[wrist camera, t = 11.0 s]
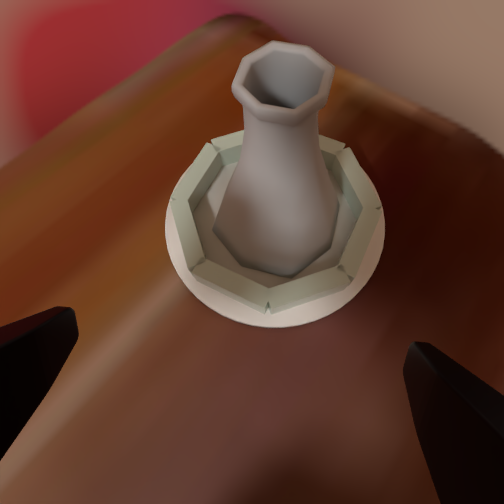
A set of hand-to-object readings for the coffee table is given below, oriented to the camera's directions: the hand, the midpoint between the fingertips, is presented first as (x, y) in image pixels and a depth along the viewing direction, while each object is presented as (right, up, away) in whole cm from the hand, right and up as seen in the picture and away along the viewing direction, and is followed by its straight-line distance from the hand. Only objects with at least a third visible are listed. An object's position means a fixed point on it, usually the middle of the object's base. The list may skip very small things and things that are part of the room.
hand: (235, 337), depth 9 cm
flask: (+2, +4, +11) cm, 12 cm away
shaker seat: (+2, +4, +12) cm, 13 cm away
